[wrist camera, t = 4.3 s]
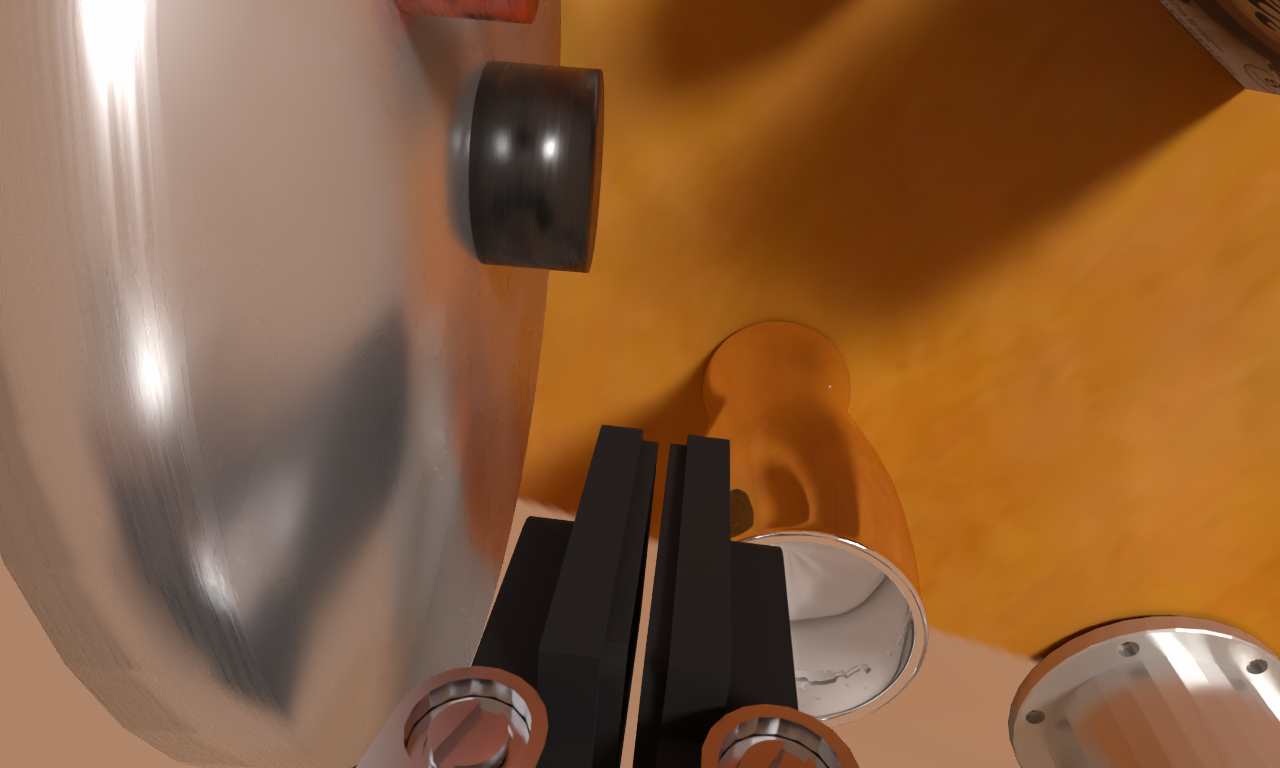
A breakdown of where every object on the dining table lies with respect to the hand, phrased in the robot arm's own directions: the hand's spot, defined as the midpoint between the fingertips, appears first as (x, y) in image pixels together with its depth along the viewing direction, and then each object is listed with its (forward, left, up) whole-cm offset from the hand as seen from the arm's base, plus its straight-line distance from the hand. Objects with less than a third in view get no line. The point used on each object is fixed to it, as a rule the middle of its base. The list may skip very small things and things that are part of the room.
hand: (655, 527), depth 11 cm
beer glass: (-4, +8, -23) cm, 24 cm away
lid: (+5, -4, -4) cm, 8 cm away
